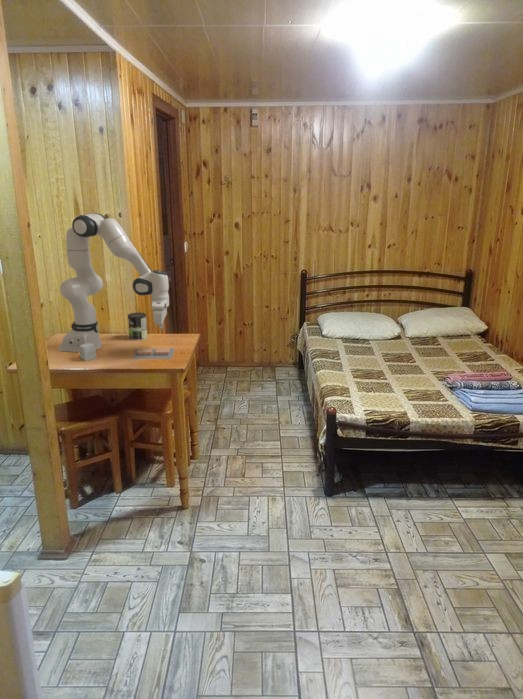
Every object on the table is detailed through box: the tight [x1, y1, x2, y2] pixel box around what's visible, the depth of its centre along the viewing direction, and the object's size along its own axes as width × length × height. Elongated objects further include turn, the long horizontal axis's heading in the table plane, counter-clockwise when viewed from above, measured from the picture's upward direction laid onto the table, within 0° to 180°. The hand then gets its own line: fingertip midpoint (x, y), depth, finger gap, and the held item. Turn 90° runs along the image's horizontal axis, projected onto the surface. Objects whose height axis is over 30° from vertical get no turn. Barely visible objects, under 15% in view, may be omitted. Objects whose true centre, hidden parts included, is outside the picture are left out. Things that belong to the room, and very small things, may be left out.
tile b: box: [155, 347, 171, 355], centre depth 260 cm, size 7×2×7 cm
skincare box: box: [79, 343, 97, 362], centre depth 251 cm, size 6×6×7 cm
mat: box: [131, 348, 176, 360], centre depth 259 cm, size 20×16×1 cm
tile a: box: [138, 347, 154, 355], centre depth 259 cm, size 7×2×7 cm
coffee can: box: [127, 312, 148, 341], centre depth 283 cm, size 10×10×14 cm
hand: (161, 328), depth 258 cm, fingers closed
